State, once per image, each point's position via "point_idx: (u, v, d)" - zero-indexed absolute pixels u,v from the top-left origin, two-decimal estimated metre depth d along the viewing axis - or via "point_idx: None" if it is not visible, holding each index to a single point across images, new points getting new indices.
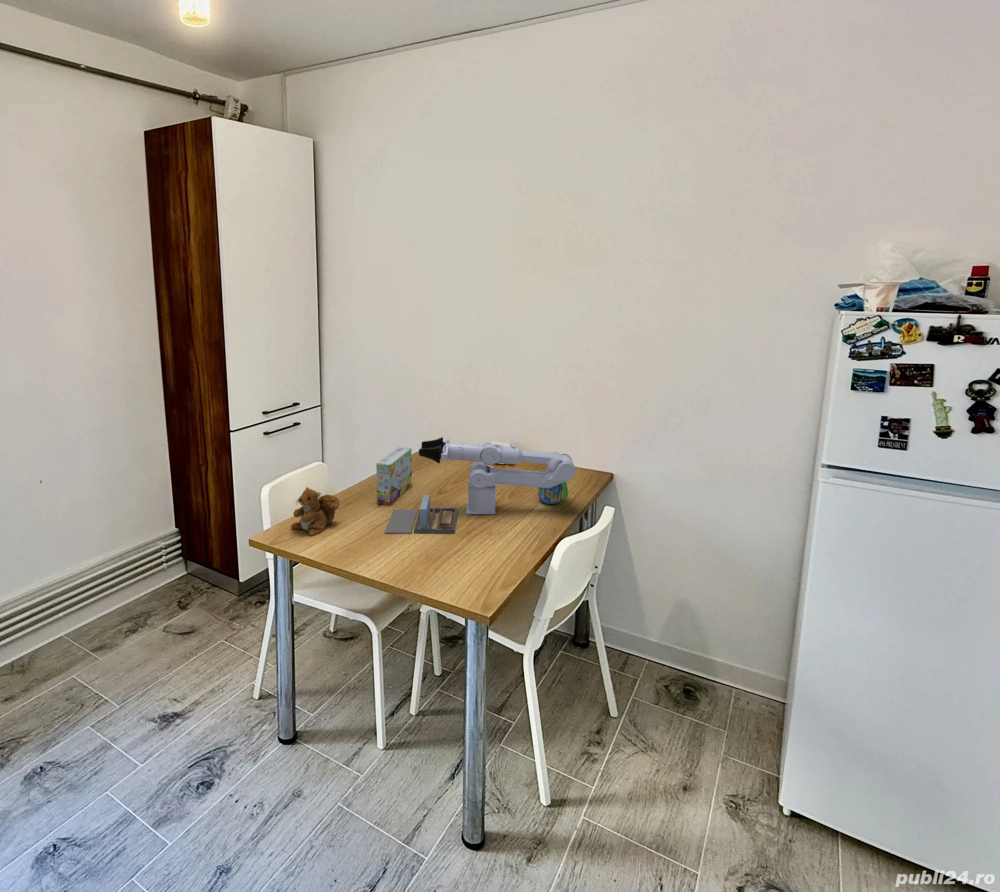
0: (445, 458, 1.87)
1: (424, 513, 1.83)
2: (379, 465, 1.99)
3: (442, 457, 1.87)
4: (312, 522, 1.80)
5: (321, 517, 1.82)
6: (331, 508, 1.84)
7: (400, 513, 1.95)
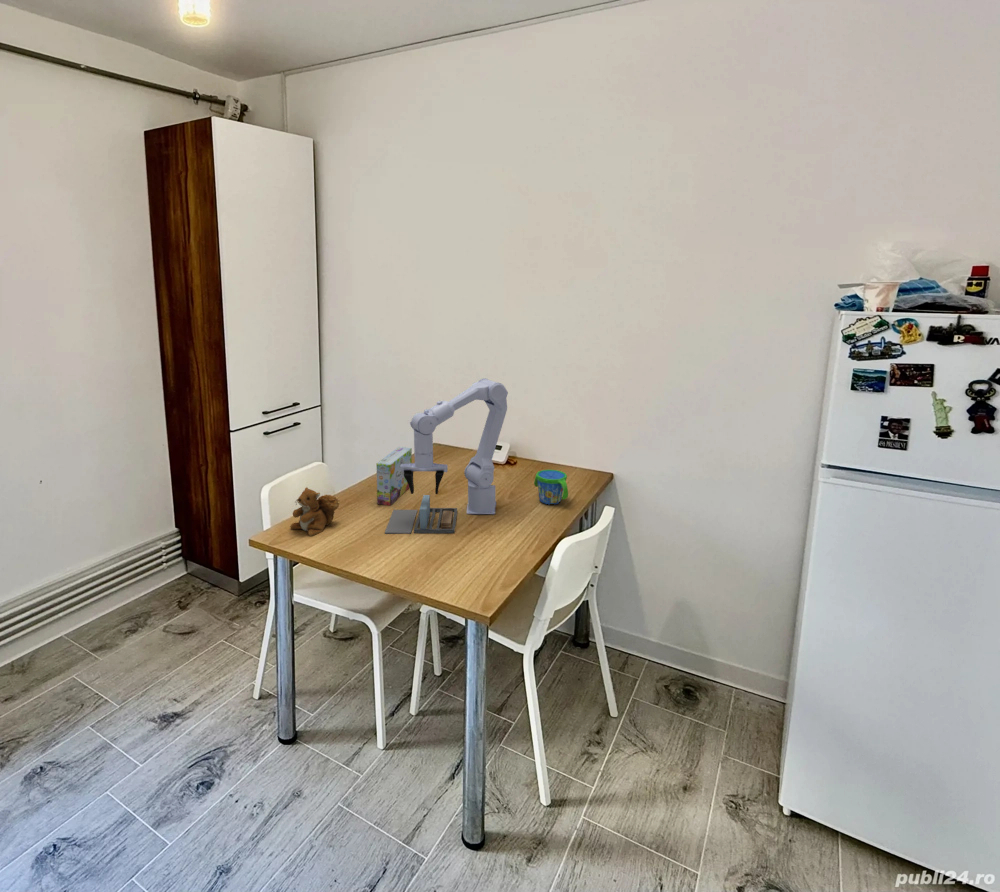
0: None
1: (424, 513, 1.83)
2: (379, 465, 1.99)
3: (447, 469, 1.85)
4: (311, 522, 1.80)
5: (321, 517, 1.82)
6: (330, 508, 1.83)
7: (400, 513, 1.95)
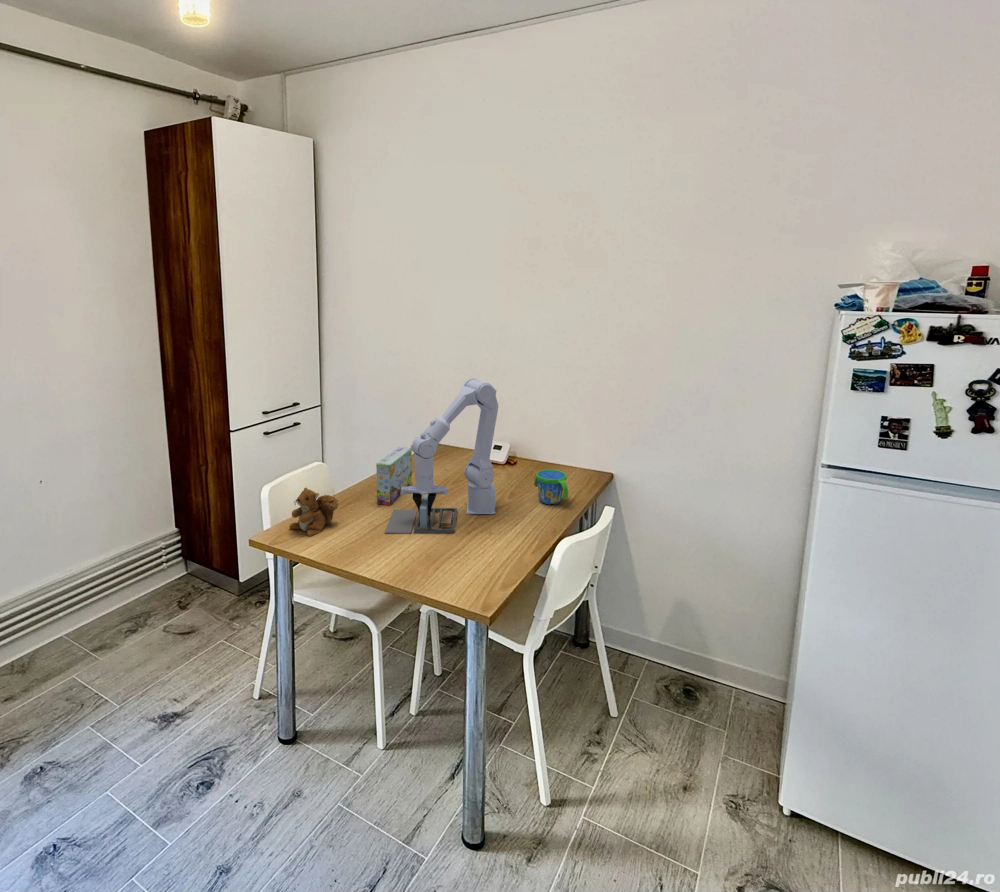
0: (447, 489, 1.88)
1: (424, 513, 1.83)
2: (379, 465, 1.99)
3: (447, 492, 1.88)
4: (310, 522, 1.80)
5: (320, 517, 1.82)
6: (329, 508, 1.83)
7: (400, 513, 1.95)
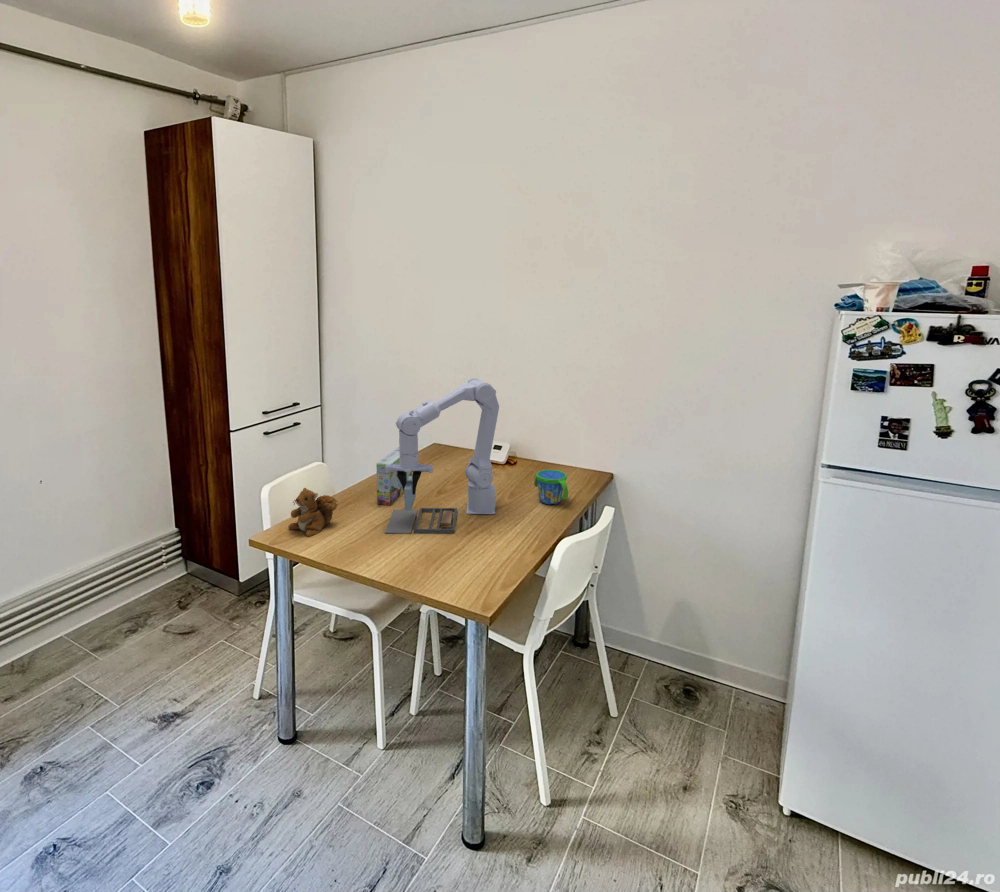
0: (432, 467, 1.85)
1: (409, 494, 1.81)
2: (379, 465, 1.99)
3: (432, 470, 1.85)
4: (309, 523, 1.80)
5: (319, 517, 1.82)
6: (328, 509, 1.83)
7: (400, 513, 1.95)
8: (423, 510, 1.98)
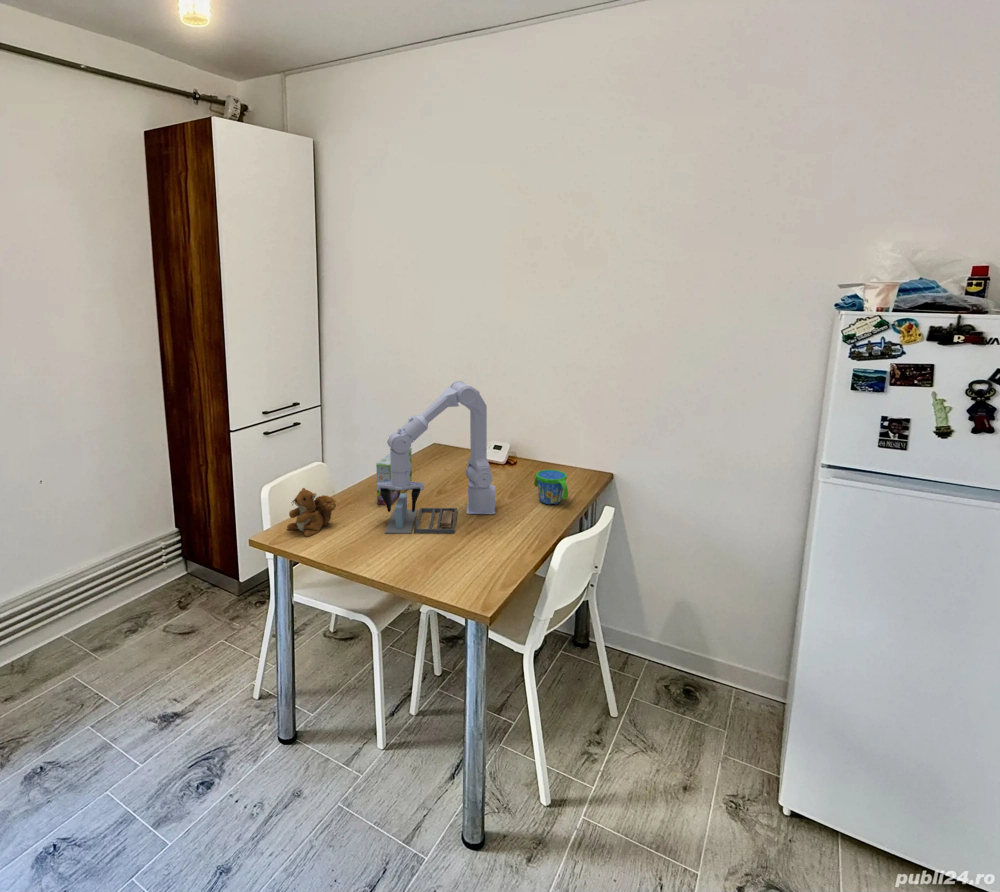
0: (423, 484, 1.87)
1: (400, 512, 1.83)
2: (379, 465, 1.99)
3: (423, 488, 1.87)
4: (308, 523, 1.80)
5: (317, 518, 1.82)
6: (327, 509, 1.83)
7: None
8: (423, 510, 1.98)
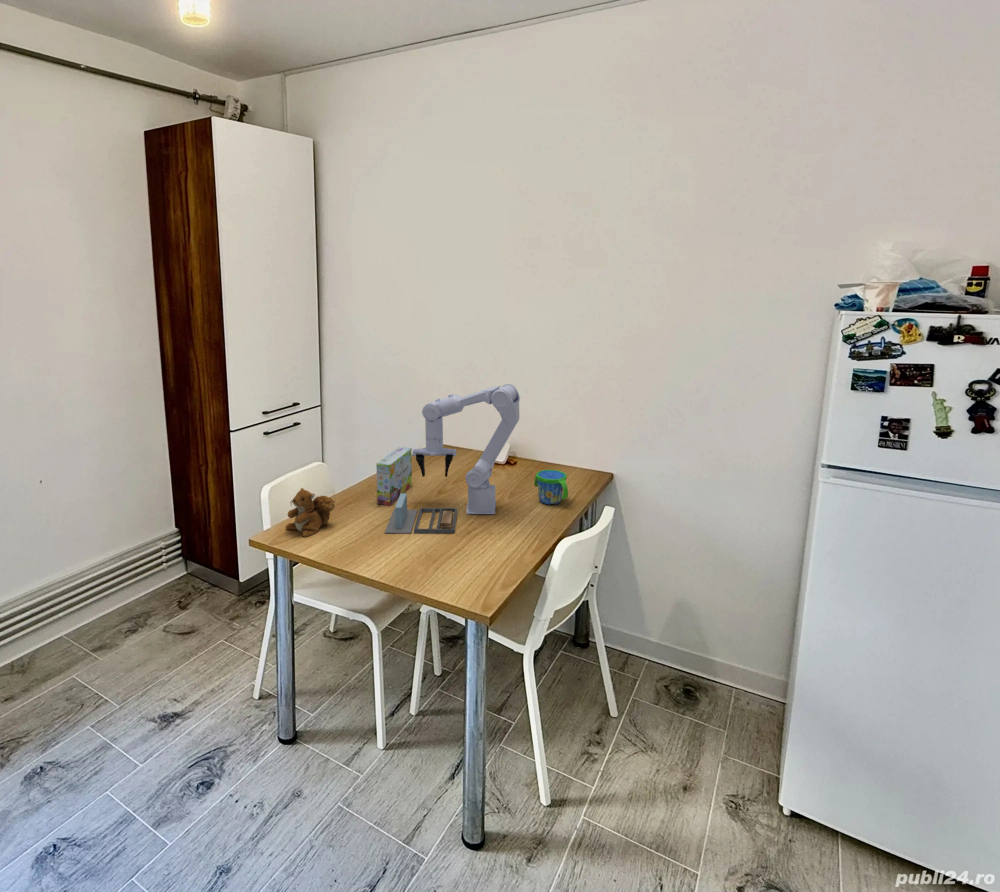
0: None
1: (400, 512, 1.83)
2: (379, 465, 1.99)
3: None
4: (306, 523, 1.80)
5: (316, 518, 1.81)
6: (326, 509, 1.83)
7: None
8: (423, 510, 1.98)
